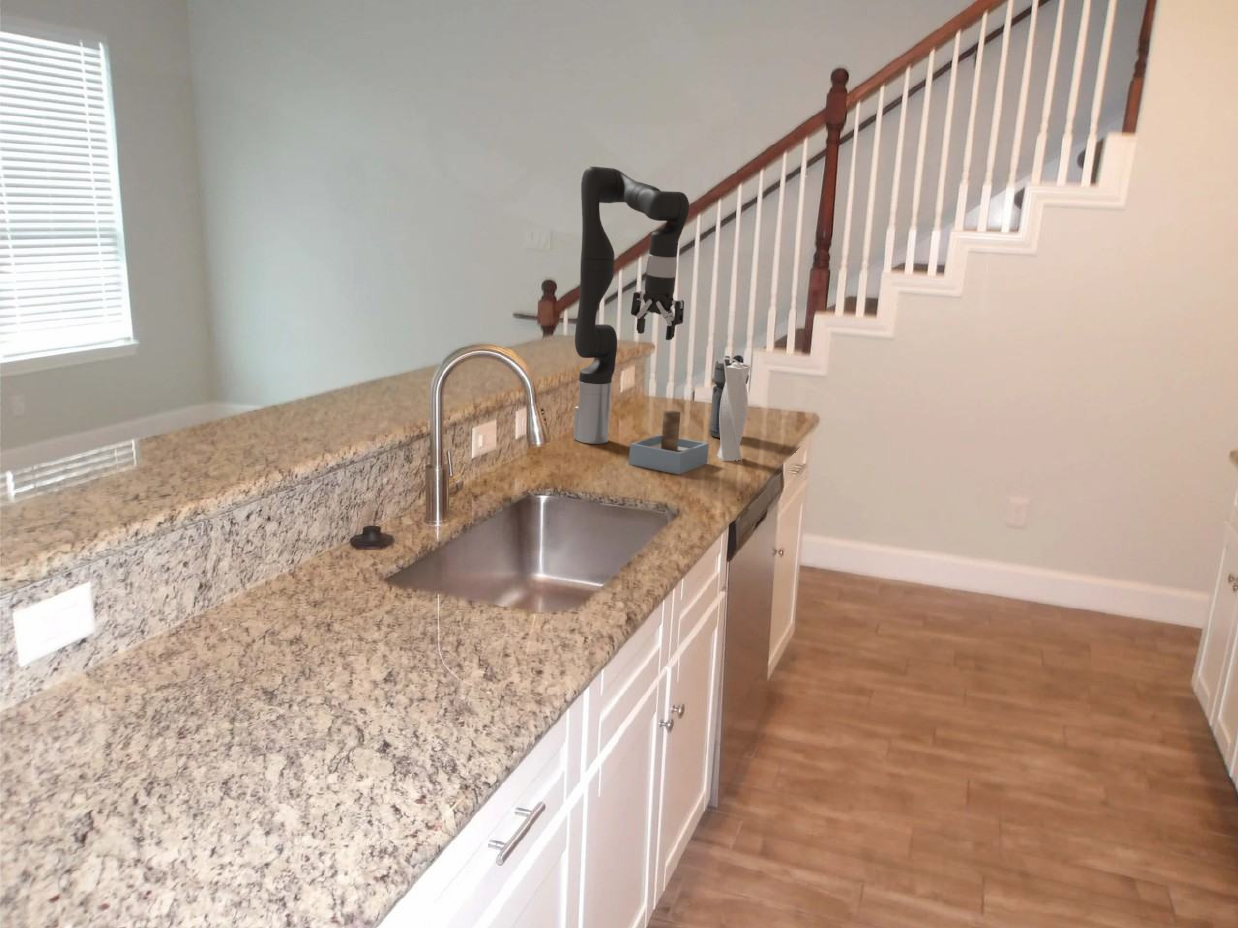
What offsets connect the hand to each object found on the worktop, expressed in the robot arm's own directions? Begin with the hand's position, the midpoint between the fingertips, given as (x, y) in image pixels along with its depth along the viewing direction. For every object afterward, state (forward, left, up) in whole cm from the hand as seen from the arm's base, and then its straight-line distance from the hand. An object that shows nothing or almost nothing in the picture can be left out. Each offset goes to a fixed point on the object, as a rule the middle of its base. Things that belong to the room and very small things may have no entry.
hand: (654, 336), depth 250 cm
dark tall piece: (+1, +46, -34) cm, 57 cm away
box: (+5, +3, -34) cm, 34 cm away
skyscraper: (+14, +20, -34) cm, 42 cm away
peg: (+5, +3, -34) cm, 34 cm away
